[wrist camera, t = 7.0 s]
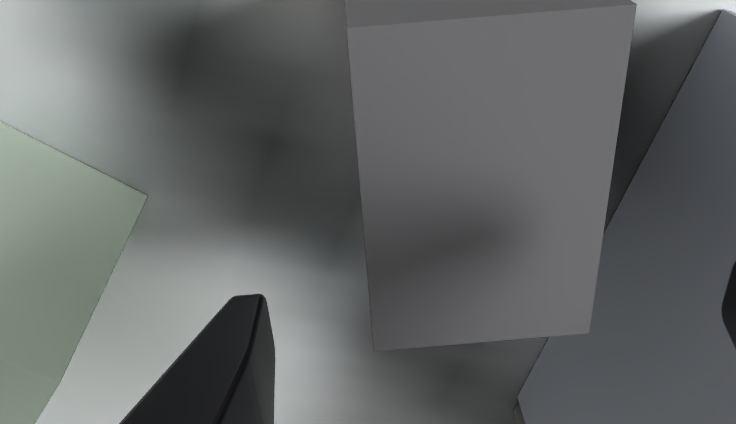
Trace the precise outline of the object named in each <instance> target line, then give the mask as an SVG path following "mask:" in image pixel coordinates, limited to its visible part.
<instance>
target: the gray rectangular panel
mask: <svg viewBox="0 0 736 424" xmlns="http://www.w3.org/2000/svg"><path fill="white" fill-rule="evenodd" d="M735 261H736V13H734V12H731V11H727V10H724V9H723V10H722V11H721V13H720V15H719V17H718V19H717V21H716V23H715V25H714V27H713V28H712V30H711V32H710V34H709V36H708V38H707V40H706V42H705V44H704V45H703V47H702V49H701V51H700V53H699V55H698V57H697V59H696V60H695V62H694V64H693V66H692V68H691V70H690V72H689V74H688V76H687V77H686V79H685V81H684V83H683V85H682V87H681V89H680V91H679V93H678V94H677V96H676V98H675V100H674V102H673V104H672V106H671V108H670V110H669V111H668V113H667V115H666V117H665V119H664V121H663V123H662V125H661V126H660V128H659V130H658V132H657V134H656V136H655V138H654V140H653V142H652V143H651V145H650V147H649V149H648V151H647V153H646V155H645V157H644V159H643V160H642V162H641V164H640V166H639V168H638V170H637V172H636V174H635V176H634V177H633V179H632V181H631V183H630V185H629V187H628V189H627V191H626V193H625V194H624V196H623V198H622V200H621V202H620V204H619V206H618V208H617V209H616V211H615V213H614V215H613V217H612V219H611V221H610V223H609V225H608V226H607V228H606V230H605V232H604V234H603V240H602V247H601V253H600V260H599V267H598V274H597V281H596V288H595V295H594V302H593V309H592V316H591V323H590V329H589V333H586V334H574V335H562V336H551V337H549V338H548V340H547V342H546V343H545V345H544V347H543V349H542V351H541V353H540V355H539V357H538V358H537V360H536V362H535V364H534V366H533V368H532V370H531V372H530V374H529V375H528V377H527V379H526V381H525V383H524V385H523V387H522V389H521V391H520V392H519V394H518V396H517V398H518V401H519V404H518V405H517V406H516V407H515V408H514V410H513V415H514V418H515V422H516V424H736V349H735V347H734V345H733V343H732V340H731V338H730V336H729V334H728V332H727V330H726V327H725V325H724V323H723V319H722V314H721V306H722V301H723V297H724V294H725V290H726V287H727V284H728V280H729V277H730V273H731V270H732V266H733V264H734V262H735Z"/></svg>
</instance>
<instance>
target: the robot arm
mask: <svg viewBox="0 0 736 424" xmlns="http://www.w3.org/2000/svg"><path fill="white" fill-rule="evenodd" d="M721 314H722V319H723V323H724V325H725V327H726V330H727V332H728V334H729V336H730V338H731V340H732V343H733V345H734V347H735V349H736V261H735V262H734V264H733V266H732V270H731V273H730V277H729V280H728V284H727V287H726V290H725V294H724V297H723V301H722V306H721ZM274 385H275V347H274V340H273V334H272V328H271V323H270V317H269V312H268V306H267V302H266V299H265V297H264V296H263V295H261V294H253V295H240V296H234V297H232V298H231V299H230V300H229V301H228V302H227V303H226V304H225V305H224V306H223V307H222V309H221V310H220V311H219V312H218V313H217V314H216V315H215V316H214V318H213V319H212V320H211V321H210V322H209V323H208V324H207V325H206V327H205V328H204V329H203V330H202V331H201V332H200V333H199V334H198V336H197V337H196V338H195V339H194V340H193V341H192V342H191V343H190V345H189V346H188V347H187V348H186V349H185V350H184V351H183V353H182V354H181V355H180V356H179V357H178V358H177V359H176V360H175V362H174V363H173V364H172V365H171V366H170V367H169V368H168V369H167V371H166V372H165V373H164V374H163V375H162V376H161V377H160V378H159V380H158V381H157V382H156V383H155V384H154V385H153V386H152V387H151V389H150V390H149V391H148V392H147V393H146V394H145V395H144V396H143V398H142V399H141V400H140V401H139V402H138V403H137V404H136V405H135V407H134V408H133V409H132V410H131V411H130V412H129V413H128V414H127V416H126V417H125V418H124V419H123V420H122V421H121V422H120V423H119V424H274Z"/></svg>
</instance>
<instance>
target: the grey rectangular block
mask: <svg viewBox="0 0 736 424" xmlns="http://www.w3.org/2000/svg"><path fill="white" fill-rule="evenodd" d="M344 3H345V16H346V28H347V40H348V52H349V64H350V76H351V88H352V99H353V111H354V123H355V135H356V147H357V158H358V170H359V182H360V194H361V206H362V218H363V229H364V241H365V253H366V265H367V277H368V289H369V300H370V312H371V324H372V336H373V348H374V352H375V351H387V350H398V349H410V348H422V347H433V346H445V345H457V344H469V343H480V342H492V341H504V340H515V339H527V338H539V337H551V336H562V335H574V334H586V333H589V329H590V323H591V316H592V309H593V302H594V295H595V288H596V281H597V274H598V267H599V260H600V253H601V247H602V240H603V233H604V226H605V219H606V212H607V205H608V198H609V191H610V184H611V178H612V171H613V164H614V157H615V150H616V143H617V136H618V129H619V122H620V115H621V108H622V102H623V95H624V88H625V81H626V74H627V67H628V60H629V53H630V46H631V39H632V32H633V26H634V19H635V12H636V5H637V4H635V3H634V2H632V1H630V0H344Z"/></svg>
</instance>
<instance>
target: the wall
mask: <svg viewBox="0 0 736 424" xmlns="http://www.w3.org/2000/svg"><path fill="white" fill-rule="evenodd" d="M147 197H148V196H147V195H145V194H143V193H141V192H139V191H137V190H135V189H133V188H131V187H129V186H127V185H125V184H123V183H121V182H119V181H117V180H115V179H113V178H111V177H109V176H107V175H105V174H103V173H101V172H99V171H97V170H95V169H93V168H91V167H89V166H87V165H85V164H83V163H81V162H79V161H77V160H75V159H73V158H71V157H69V156H67V155H66V154H64V153H62V152H60V151H58V150H56V149H54V148H52V147H50V146H48V145H46V144H44V143H42V142H40V141H38V140H36V139H34V138H32V137H30V136H28V135H26V134H24V133H22V132H20V131H18V130H16V129H14V128H12V127H10V126H8V125H6V124H4V123H2V122H0V424H35V422H36V421H37V419H38V417H39V416H40V414H41V412H42V411H43V409H44V408H45V406H46V404H47V403H48V401H49V399H50V398H51V396H52V395H53V393H54V391H55V390H56V388H57V386H58V385H59V383H60V381H61V379H62V377H63V375H64V373H65V371H66V369H67V367H68V364H69V362H70V360H71V358H72V356H73V354H74V352H75V350H76V347H77V345H78V343H79V341H80V339H81V337H82V335H83V333H84V331H85V328H86V326H87V324H88V322H89V320H90V318H91V316H92V314H93V311H94V309H95V307H96V305H97V303H98V301H99V299H100V297H101V294H102V292H103V290H104V288H105V286H106V284H107V282H108V280H109V278H110V275H111V273H112V271H113V269H114V267H115V265H116V263H117V261H118V258H119V256H120V254H121V252H122V250H123V248H124V246H125V244H126V241H127V239H128V237H129V235H130V233H131V231H132V229H133V227H134V224H135V222H136V220H137V218H138V216H139V214H140V212H141V210H142V208H143V205H144V203H145V201H146V199H147Z"/></svg>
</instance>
